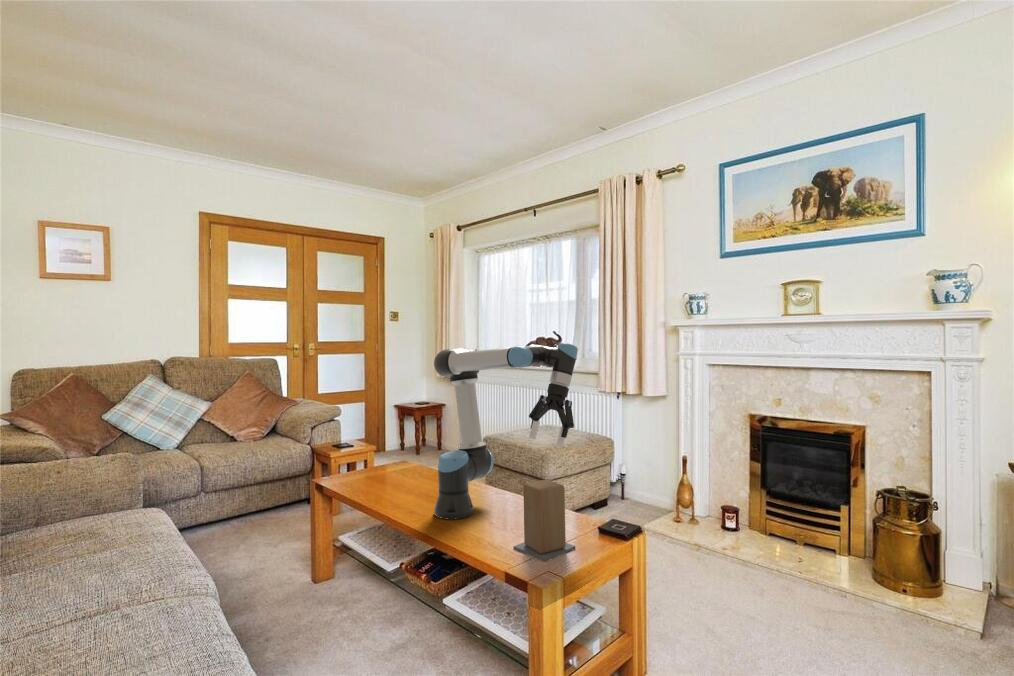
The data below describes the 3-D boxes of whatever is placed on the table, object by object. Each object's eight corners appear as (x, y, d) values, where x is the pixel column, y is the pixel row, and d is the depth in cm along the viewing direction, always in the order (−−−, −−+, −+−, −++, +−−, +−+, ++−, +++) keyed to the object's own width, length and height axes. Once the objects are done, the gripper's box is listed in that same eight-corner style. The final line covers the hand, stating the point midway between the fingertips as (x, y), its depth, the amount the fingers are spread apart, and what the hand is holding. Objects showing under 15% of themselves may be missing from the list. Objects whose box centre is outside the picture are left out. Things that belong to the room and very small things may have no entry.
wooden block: (523, 545, 164) (522, 482, 164) (548, 538, 169) (547, 478, 169) (540, 555, 155) (539, 489, 156) (566, 548, 160) (565, 484, 161)
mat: (513, 548, 163) (513, 546, 163) (543, 537, 173) (543, 534, 173) (545, 561, 153) (545, 559, 153) (575, 548, 162) (575, 546, 162)
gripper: (592, 391, 180) (578, 451, 176) (541, 383, 198) (528, 437, 195) (579, 387, 175) (564, 448, 171) (528, 378, 193) (514, 433, 190)
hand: (545, 442), depth 183 cm, fingers open, 13 cm apart
